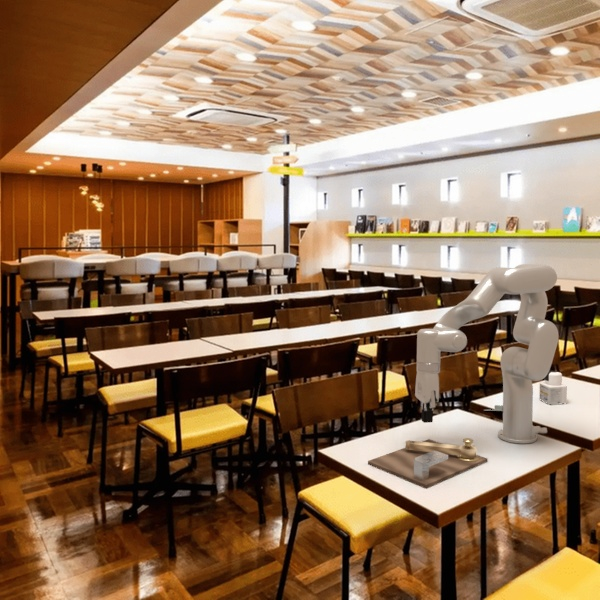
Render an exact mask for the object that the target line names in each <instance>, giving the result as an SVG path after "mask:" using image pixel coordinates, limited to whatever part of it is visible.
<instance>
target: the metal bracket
mask: <svg viewBox="0 0 600 600" xmlns="http://www.w3.org/2000/svg"><path fill="white" fill-rule="evenodd" d="M483 411H489V412H490V411H492V412H493V411H494V412H495V411H496V412H500V411H501V412H503V404H502V405H498V404H495V405H494V409H492V410H491V409H483Z"/></svg>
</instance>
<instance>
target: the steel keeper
mask: <svg viewBox="0 0 600 600" xmlns="http://www.w3.org/2000/svg"><path fill="white" fill-rule="evenodd" d="M447 459H448V455H447V454H444V453H441V452H438V451H435V450H434V451H432V452H429V453H426V454H424V455H421V456H418V457H416V458H415V459H414V477H415V478H417V479H420V480H424V479H427V478H429V467H430V466H432V465H435V464H437V463H440V462H442V461H445V460H447Z"/></svg>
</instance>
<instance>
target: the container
mask: <svg viewBox="0 0 600 600" xmlns="http://www.w3.org/2000/svg"><path fill="white" fill-rule="evenodd" d="M562 381H563V374H562V373H561V372H560V371H558V370H549V372H548V374H547V375H546V377H545V378H544V382H542V381H541V382H539V400H540V399H541V400H543V401H544V402H547V403H548V404H558V405H560V404H559V403H566V404H567V400H568V399H567V398H568V396H567V395H568V393H567V391H568V387H567V385H565V384H564V383H563V382H562ZM541 400H540V401H541ZM543 401H542V402H543ZM544 402H543V403H544ZM548 404H547V405H548Z"/></svg>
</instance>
